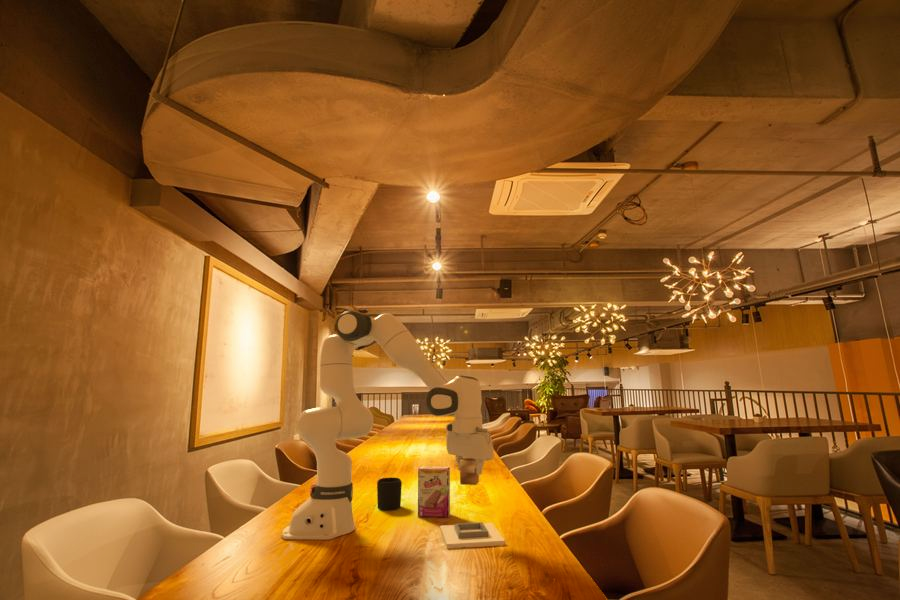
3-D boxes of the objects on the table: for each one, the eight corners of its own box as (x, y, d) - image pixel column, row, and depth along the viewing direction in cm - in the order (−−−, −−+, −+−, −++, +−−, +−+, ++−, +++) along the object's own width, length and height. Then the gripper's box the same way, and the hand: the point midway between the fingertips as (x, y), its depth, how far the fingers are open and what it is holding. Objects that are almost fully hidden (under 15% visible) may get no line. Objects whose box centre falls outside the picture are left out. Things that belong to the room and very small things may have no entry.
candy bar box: (417, 517, 155) (417, 468, 158) (419, 513, 160) (419, 466, 163) (449, 518, 154) (448, 468, 157) (450, 514, 159) (449, 466, 162)
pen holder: (406, 506, 170) (406, 478, 172) (390, 512, 162) (391, 483, 164) (387, 503, 175) (387, 476, 177) (371, 508, 167) (372, 481, 169)
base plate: (446, 548, 125) (446, 538, 126) (440, 529, 142) (440, 520, 142) (505, 545, 127) (504, 535, 128) (491, 526, 144) (491, 517, 145)
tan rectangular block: (460, 484, 136) (459, 460, 137) (463, 481, 140) (462, 458, 142) (476, 484, 135) (475, 460, 136) (478, 481, 139) (478, 458, 141)
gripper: (497, 428, 134) (499, 476, 132) (458, 424, 151) (458, 467, 148) (481, 429, 131) (483, 478, 128) (442, 425, 147) (443, 469, 144)
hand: (469, 472), depth 138 cm, fingers closed on tan rectangular block, 7 cm apart
